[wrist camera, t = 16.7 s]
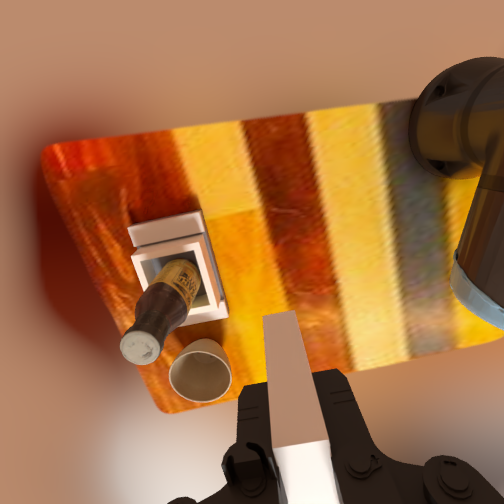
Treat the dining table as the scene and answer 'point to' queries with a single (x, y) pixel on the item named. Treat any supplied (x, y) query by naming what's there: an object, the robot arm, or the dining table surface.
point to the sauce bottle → (161, 310)
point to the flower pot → (201, 371)
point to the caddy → (181, 246)
